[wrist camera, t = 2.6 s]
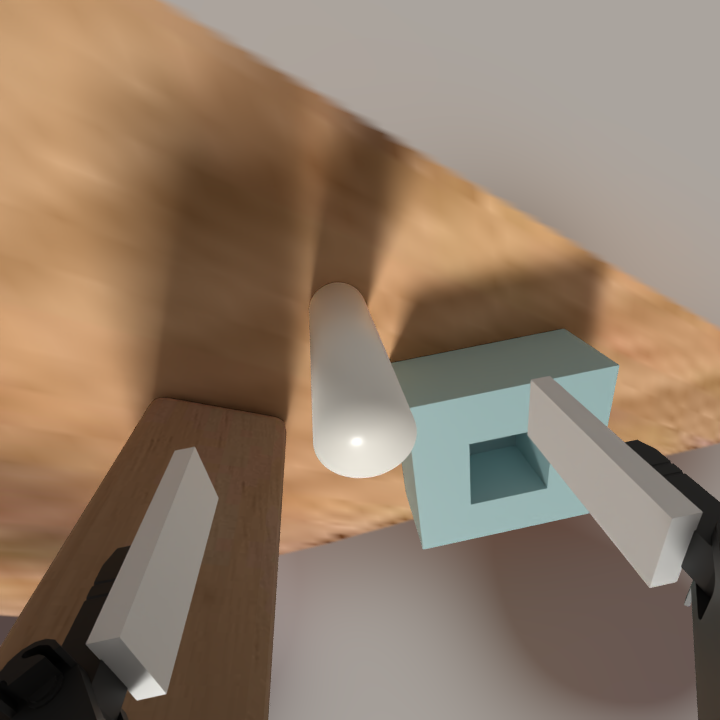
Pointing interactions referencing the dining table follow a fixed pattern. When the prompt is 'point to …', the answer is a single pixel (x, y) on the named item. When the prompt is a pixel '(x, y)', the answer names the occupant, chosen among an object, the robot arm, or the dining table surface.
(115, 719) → the robot arm
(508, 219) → the dining table surface
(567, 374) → the socket
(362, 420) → the peg
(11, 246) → the dining table surface
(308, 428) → the dining table surface
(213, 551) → the wooden block
